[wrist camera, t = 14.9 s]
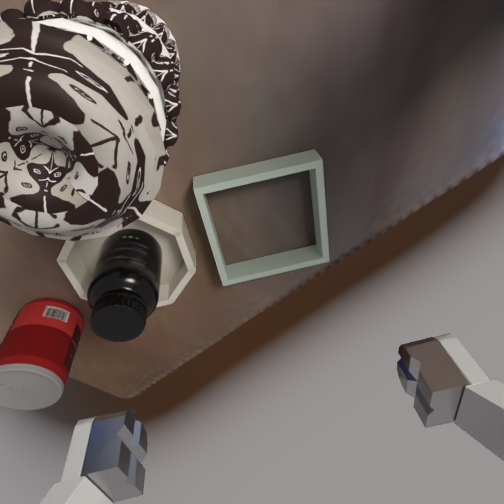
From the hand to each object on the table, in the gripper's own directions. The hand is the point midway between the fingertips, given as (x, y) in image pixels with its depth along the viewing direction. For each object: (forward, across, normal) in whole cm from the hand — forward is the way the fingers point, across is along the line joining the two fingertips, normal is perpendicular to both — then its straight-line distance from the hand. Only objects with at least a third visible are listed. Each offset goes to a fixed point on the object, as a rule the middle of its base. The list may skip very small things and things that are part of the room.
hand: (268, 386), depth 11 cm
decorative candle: (+31, +6, -6) cm, 32 cm away
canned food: (+31, +27, +21) cm, 46 cm away
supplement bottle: (+30, +13, +13) cm, 35 cm away
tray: (+31, -3, +13) cm, 34 cm away
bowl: (+31, +13, +13) cm, 36 cm away
